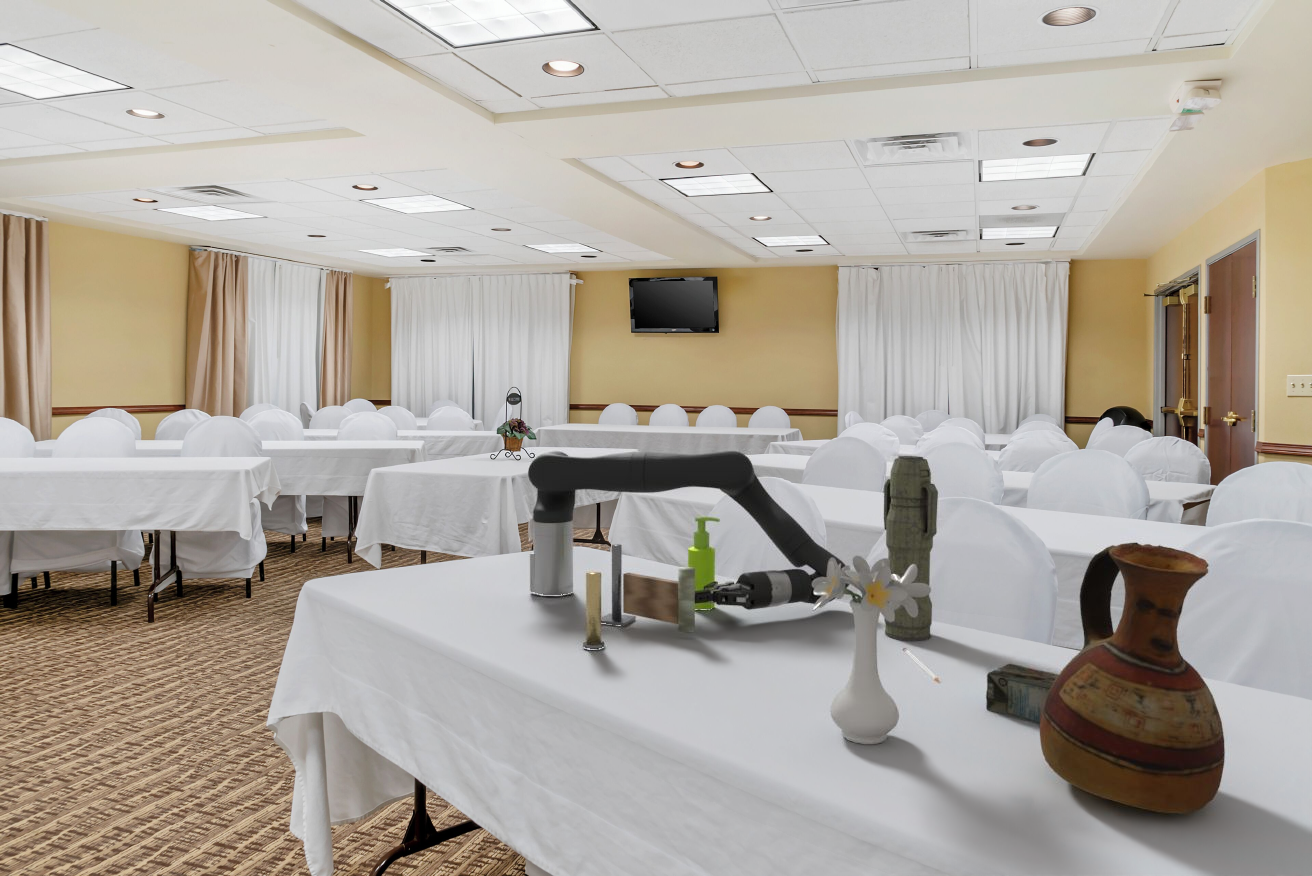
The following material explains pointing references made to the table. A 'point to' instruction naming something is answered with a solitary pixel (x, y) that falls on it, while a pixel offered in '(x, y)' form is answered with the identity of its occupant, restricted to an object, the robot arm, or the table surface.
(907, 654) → the pencil
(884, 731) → the flower vase
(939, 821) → the table surface
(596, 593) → the post
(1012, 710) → the beverage carton
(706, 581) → the soap dispenser
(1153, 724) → the ceramic pitcher
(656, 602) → the gate
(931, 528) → the thermos
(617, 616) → the hinge post
